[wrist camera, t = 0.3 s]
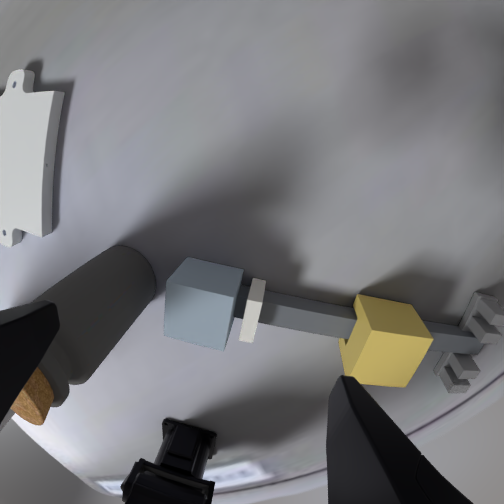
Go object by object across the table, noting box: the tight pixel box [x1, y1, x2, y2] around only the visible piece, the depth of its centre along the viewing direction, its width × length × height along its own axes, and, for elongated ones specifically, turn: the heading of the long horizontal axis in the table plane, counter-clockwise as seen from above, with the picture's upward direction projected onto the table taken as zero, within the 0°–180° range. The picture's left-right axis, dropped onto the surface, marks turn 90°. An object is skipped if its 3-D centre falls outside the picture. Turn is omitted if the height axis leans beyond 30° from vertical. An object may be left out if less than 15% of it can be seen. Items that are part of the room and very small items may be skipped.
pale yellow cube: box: [339, 294, 433, 387], centre depth 20 cm, size 5×5×5 cm
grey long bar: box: [164, 257, 484, 355], centre depth 21 cm, size 28×4×4 cm, turn 79°
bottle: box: [11, 246, 156, 425], centre depth 17 cm, size 6×6×15 cm
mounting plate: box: [0, 69, 65, 248], centre depth 21 cm, size 18×13×2 cm
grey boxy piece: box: [433, 292, 504, 393], centre depth 21 cm, size 3×9×4 cm, turn 169°
